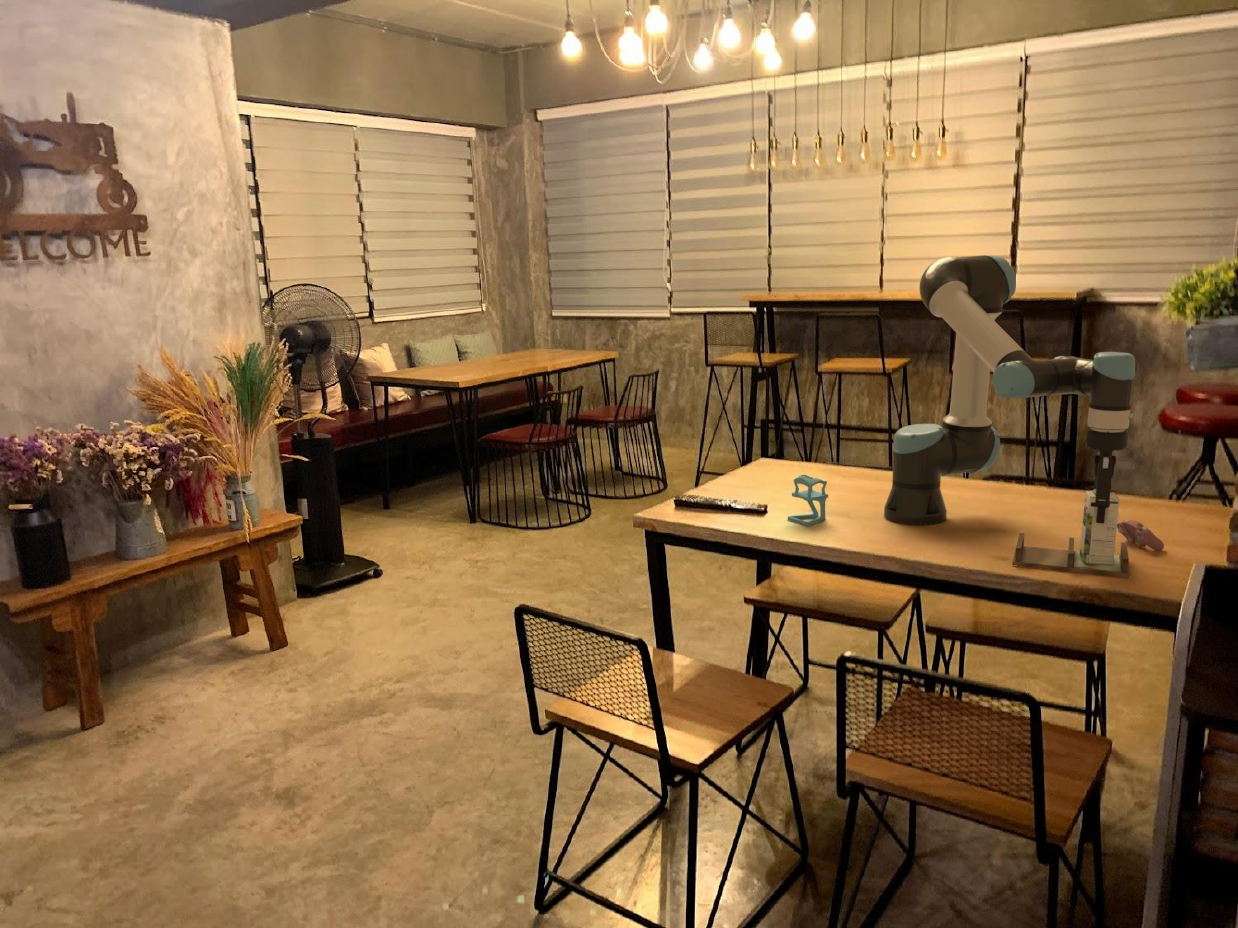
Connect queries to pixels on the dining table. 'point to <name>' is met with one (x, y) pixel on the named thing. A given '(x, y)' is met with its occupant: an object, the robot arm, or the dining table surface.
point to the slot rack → (1069, 560)
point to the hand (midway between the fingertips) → (1098, 528)
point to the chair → (810, 500)
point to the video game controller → (1139, 534)
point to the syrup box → (1095, 547)
